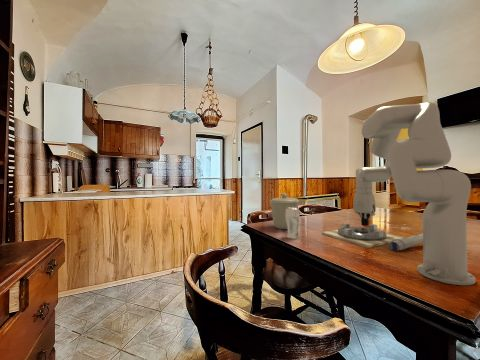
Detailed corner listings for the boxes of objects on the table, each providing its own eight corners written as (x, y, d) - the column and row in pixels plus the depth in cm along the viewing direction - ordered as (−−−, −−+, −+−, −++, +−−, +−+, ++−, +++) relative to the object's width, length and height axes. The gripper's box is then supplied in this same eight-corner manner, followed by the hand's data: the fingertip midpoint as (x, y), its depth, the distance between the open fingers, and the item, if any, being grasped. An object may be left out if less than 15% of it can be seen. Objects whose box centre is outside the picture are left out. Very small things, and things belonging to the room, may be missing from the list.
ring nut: (365, 242, 94) (365, 234, 94) (328, 232, 113) (328, 225, 113) (396, 236, 102) (396, 228, 102) (357, 227, 121) (357, 221, 121)
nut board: (367, 248, 90) (367, 245, 90) (321, 234, 114) (321, 231, 114) (405, 239, 100) (405, 237, 100) (356, 228, 124) (356, 226, 124)
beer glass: (283, 236, 112) (282, 207, 112) (294, 235, 114) (293, 206, 114) (291, 240, 105) (290, 209, 105) (302, 238, 108) (302, 208, 107)
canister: (268, 224, 141) (267, 192, 141) (296, 224, 140) (295, 191, 140) (271, 231, 123) (270, 194, 123) (303, 230, 122) (302, 193, 122)
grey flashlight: (386, 239, 89) (428, 225, 96) (388, 255, 89) (430, 240, 96) (399, 243, 84) (442, 228, 91) (401, 259, 84) (444, 243, 91)
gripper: (347, 190, 120) (348, 223, 121) (372, 192, 107) (373, 229, 107) (356, 190, 123) (357, 222, 123) (382, 191, 109) (383, 227, 110)
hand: (364, 225), depth 115 cm, fingers closed
